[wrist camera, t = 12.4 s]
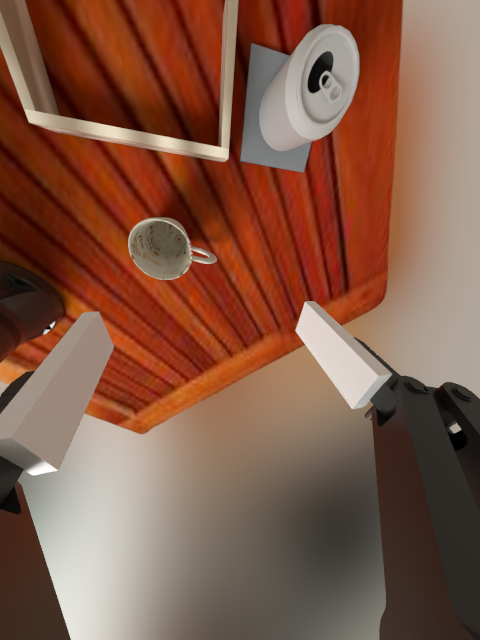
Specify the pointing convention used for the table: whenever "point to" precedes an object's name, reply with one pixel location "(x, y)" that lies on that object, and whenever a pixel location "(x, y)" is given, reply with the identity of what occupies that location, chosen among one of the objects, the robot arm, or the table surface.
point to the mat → (253, 144)
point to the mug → (163, 248)
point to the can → (311, 89)
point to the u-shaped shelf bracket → (40, 107)
